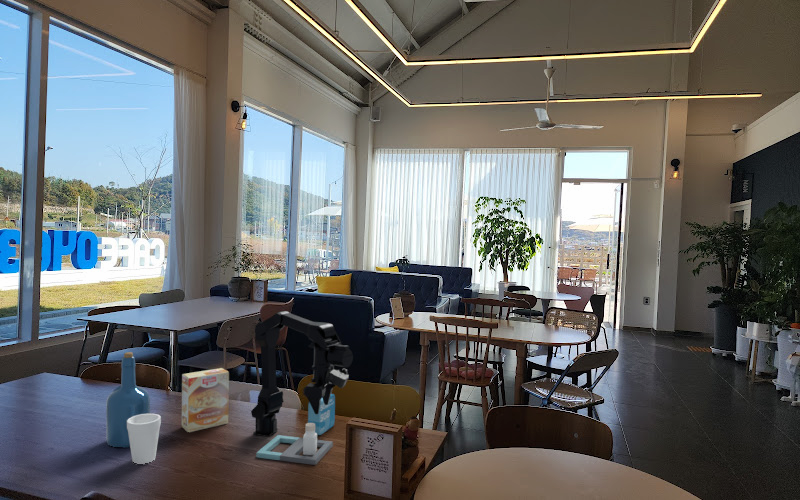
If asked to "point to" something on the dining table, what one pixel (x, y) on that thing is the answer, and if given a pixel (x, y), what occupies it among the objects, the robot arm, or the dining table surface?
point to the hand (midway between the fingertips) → (321, 409)
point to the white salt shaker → (310, 439)
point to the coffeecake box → (205, 399)
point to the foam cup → (143, 437)
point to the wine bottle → (125, 404)
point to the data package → (323, 415)
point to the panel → (293, 450)
